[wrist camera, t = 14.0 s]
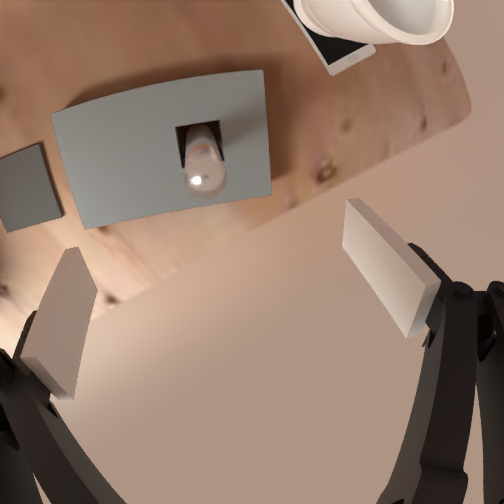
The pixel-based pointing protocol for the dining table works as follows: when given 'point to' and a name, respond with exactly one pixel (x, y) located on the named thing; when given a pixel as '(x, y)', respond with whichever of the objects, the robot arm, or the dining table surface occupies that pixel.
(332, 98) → the dining table surface
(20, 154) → the mat
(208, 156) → the peg
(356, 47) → the smartphone
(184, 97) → the block with square hole
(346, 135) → the dining table surface
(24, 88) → the dining table surface
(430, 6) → the jar
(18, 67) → the dining table surface
